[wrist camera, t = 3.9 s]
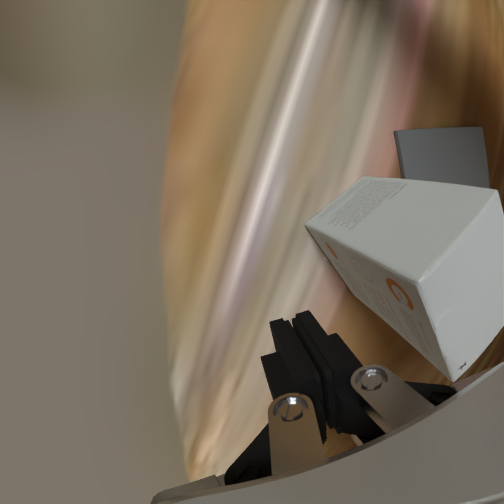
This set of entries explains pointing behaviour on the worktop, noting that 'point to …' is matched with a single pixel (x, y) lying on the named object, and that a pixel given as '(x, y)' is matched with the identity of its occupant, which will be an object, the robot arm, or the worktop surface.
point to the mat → (444, 155)
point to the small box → (422, 262)
